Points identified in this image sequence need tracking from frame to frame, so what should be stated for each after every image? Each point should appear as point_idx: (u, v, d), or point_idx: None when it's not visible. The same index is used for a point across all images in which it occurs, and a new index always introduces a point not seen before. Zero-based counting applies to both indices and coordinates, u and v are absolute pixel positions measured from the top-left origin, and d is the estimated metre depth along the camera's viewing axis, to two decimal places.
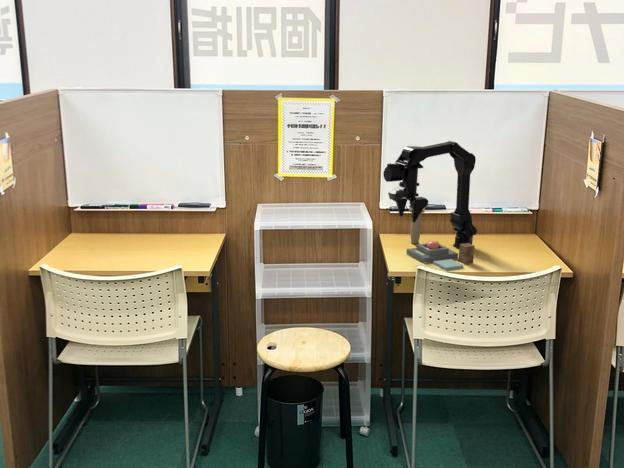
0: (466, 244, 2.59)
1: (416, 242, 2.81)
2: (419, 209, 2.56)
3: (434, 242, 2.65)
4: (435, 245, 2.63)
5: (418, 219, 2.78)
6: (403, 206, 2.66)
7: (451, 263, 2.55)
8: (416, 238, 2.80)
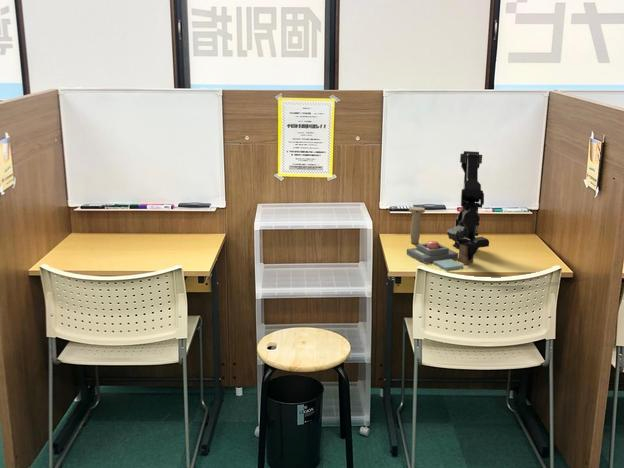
0: None
1: (416, 242, 2.81)
2: (475, 247, 2.55)
3: (434, 242, 2.65)
4: (435, 245, 2.63)
5: (418, 219, 2.78)
6: None
7: (451, 263, 2.55)
8: (416, 238, 2.80)
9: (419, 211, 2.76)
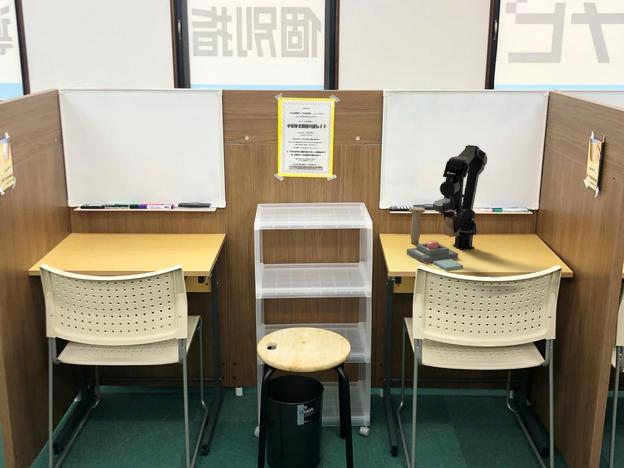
0: None
1: (416, 242, 2.81)
2: (461, 219, 2.56)
3: (434, 242, 2.65)
4: (435, 245, 2.63)
5: (418, 219, 2.78)
6: None
7: (451, 263, 2.55)
8: (416, 238, 2.80)
9: (419, 211, 2.76)
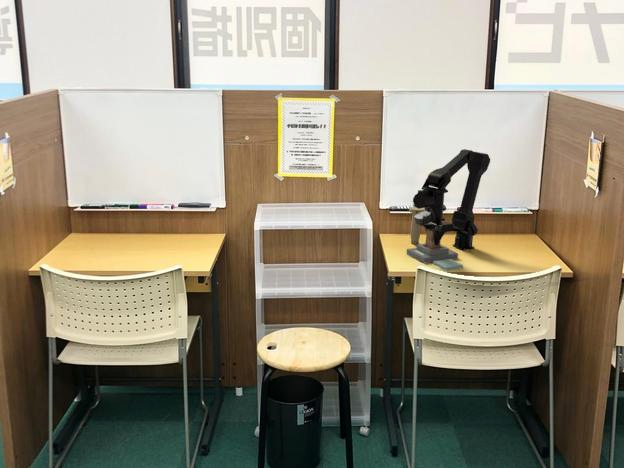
0: None
1: (416, 242, 2.81)
2: (442, 232, 2.61)
3: None
4: None
5: None
6: None
7: (451, 263, 2.55)
8: (416, 238, 2.80)
9: (419, 211, 2.76)
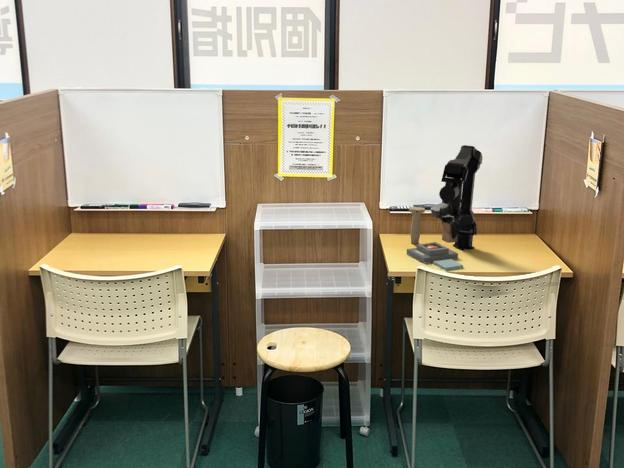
0: None
1: (416, 242, 2.81)
2: (459, 225, 2.48)
3: (434, 247, 2.65)
4: None
5: (418, 219, 2.78)
6: None
7: (451, 263, 2.55)
8: (416, 238, 2.80)
9: (419, 211, 2.76)
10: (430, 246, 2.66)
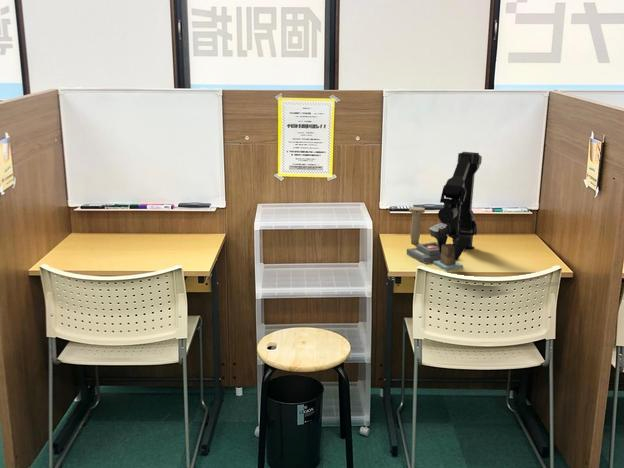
0: (448, 245, 2.54)
1: (416, 242, 2.81)
2: (462, 247, 2.48)
3: (434, 247, 2.65)
4: None
5: (418, 219, 2.78)
6: (444, 242, 2.58)
7: None
8: (416, 238, 2.80)
9: (419, 211, 2.76)
10: (430, 246, 2.66)
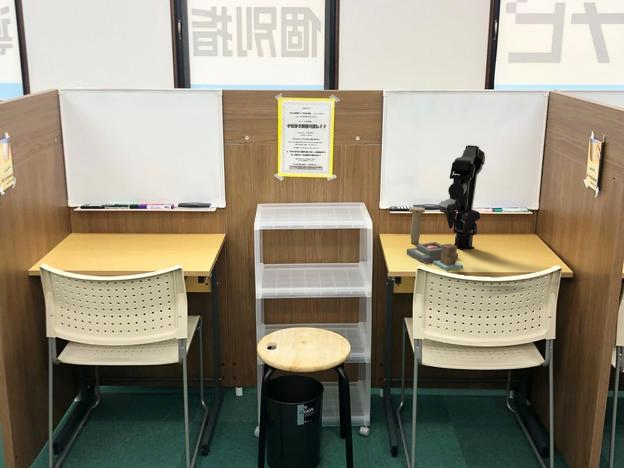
0: (448, 245, 2.54)
1: (416, 242, 2.81)
2: (471, 222, 2.53)
3: (434, 247, 2.65)
4: None
5: (418, 219, 2.78)
6: (453, 218, 2.63)
7: None
8: (416, 238, 2.80)
9: (419, 211, 2.76)
10: (430, 246, 2.66)
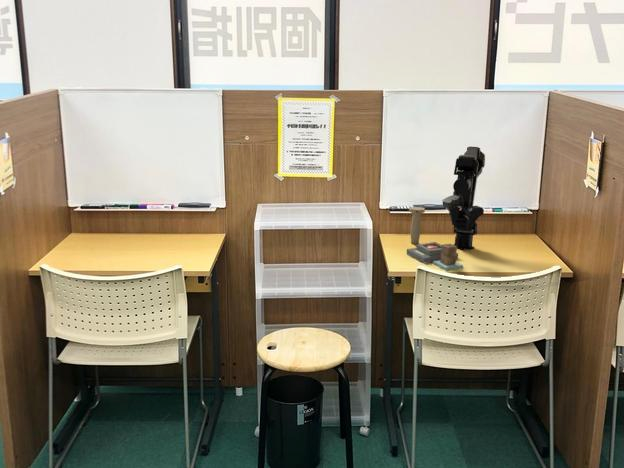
0: (448, 245, 2.54)
1: (416, 242, 2.81)
2: (474, 218, 2.56)
3: (434, 247, 2.65)
4: None
5: (418, 219, 2.78)
6: (456, 215, 2.66)
7: None
8: (416, 238, 2.80)
9: (419, 211, 2.76)
10: (430, 246, 2.66)
